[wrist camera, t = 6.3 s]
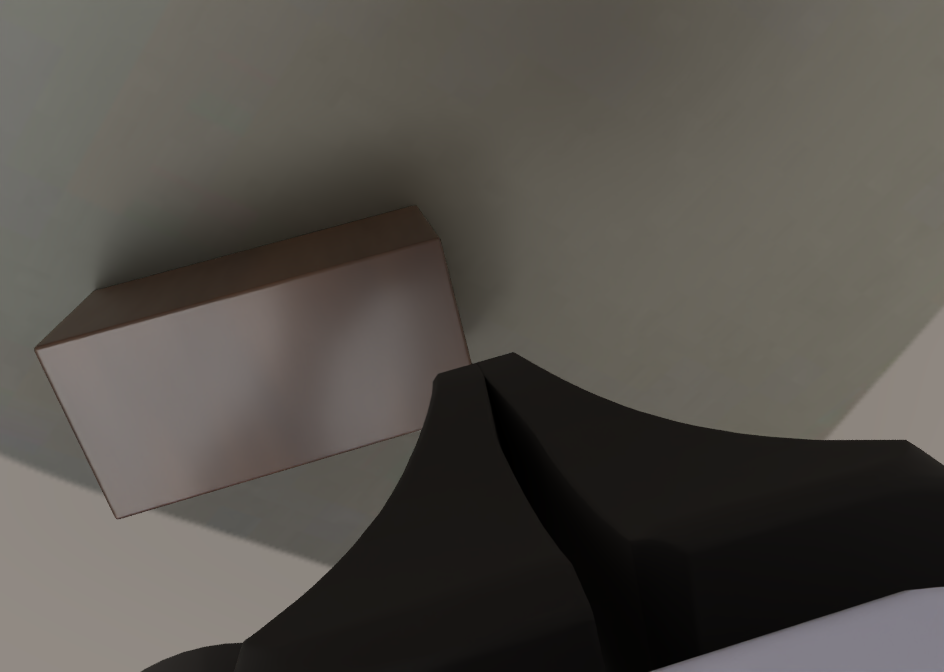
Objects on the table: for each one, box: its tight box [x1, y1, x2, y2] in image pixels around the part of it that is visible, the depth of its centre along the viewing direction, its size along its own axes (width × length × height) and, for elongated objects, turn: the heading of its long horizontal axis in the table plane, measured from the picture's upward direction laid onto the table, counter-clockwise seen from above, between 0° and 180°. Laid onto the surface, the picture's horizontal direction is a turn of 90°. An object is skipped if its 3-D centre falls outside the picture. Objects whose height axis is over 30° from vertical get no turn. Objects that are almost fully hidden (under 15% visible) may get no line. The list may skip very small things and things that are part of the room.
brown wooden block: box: [34, 205, 472, 519], centre depth 19 cm, size 4×4×9 cm
